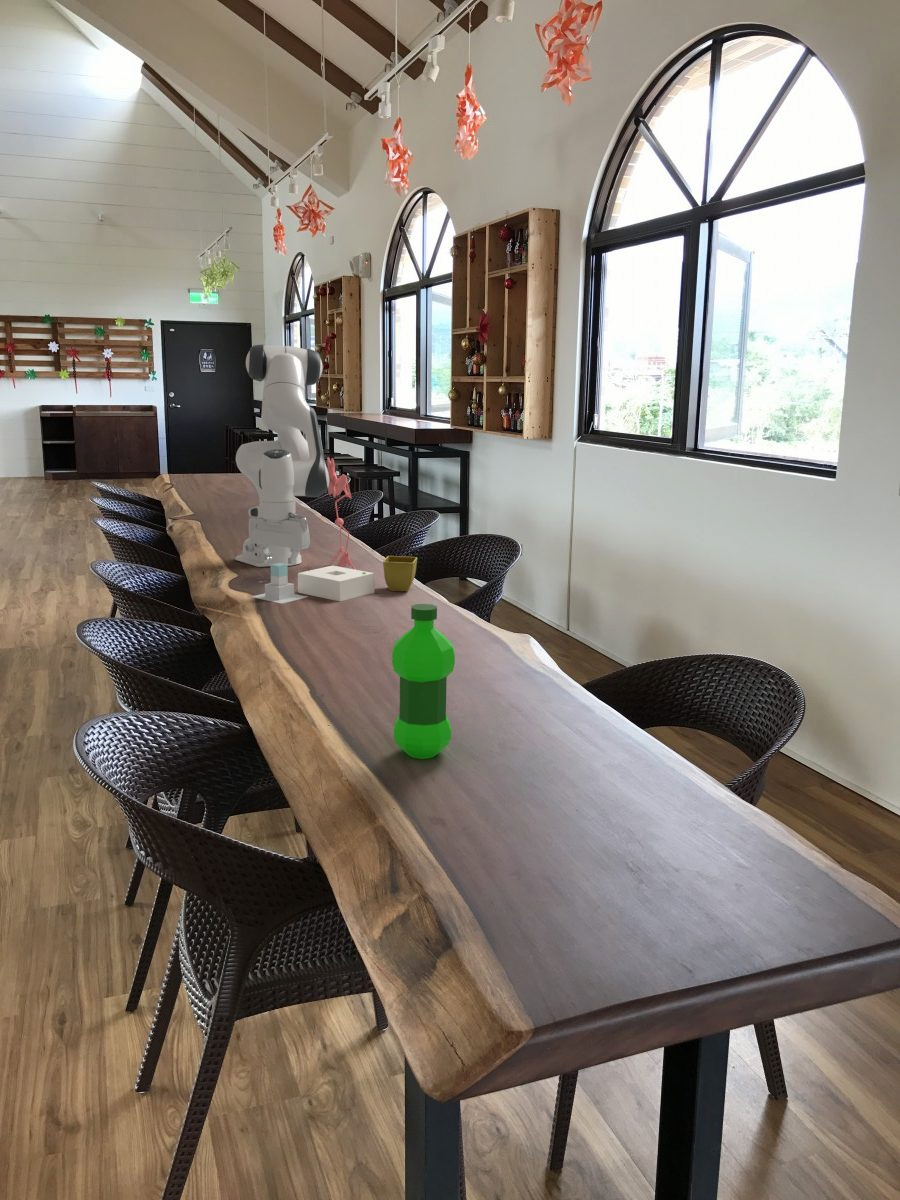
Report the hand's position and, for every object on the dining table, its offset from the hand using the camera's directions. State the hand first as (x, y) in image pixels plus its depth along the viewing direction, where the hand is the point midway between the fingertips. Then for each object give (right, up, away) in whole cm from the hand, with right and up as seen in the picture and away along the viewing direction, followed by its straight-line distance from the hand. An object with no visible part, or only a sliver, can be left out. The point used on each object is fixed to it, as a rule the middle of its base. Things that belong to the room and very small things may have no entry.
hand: (279, 562), depth 259 cm
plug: (0, -9, +3) cm, 10 cm away
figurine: (+9, -1, +43) cm, 44 cm away
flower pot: (+32, -8, +16) cm, 36 cm away
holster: (0, -10, +3) cm, 10 cm away
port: (+14, -9, +9) cm, 19 cm away
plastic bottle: (+42, -36, -100) cm, 114 cm away
